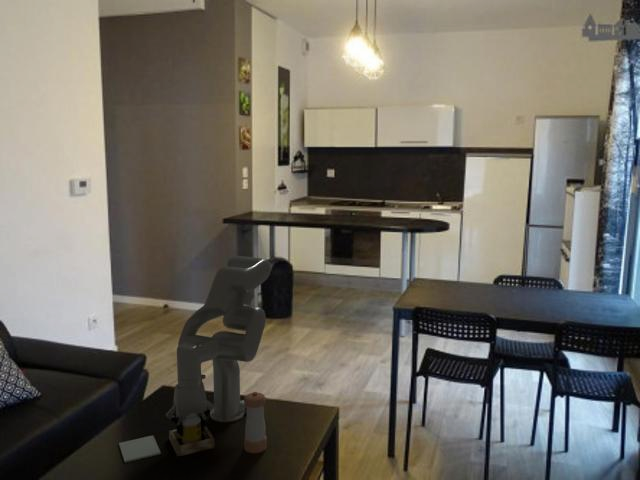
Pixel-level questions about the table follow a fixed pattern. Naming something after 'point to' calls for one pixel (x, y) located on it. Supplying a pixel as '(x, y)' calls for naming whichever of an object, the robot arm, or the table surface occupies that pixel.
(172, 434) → the oak cradle
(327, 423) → the table surface
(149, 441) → the ceramic tile
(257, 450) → the pepper shaker
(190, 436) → the pill bottle
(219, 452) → the table surface
